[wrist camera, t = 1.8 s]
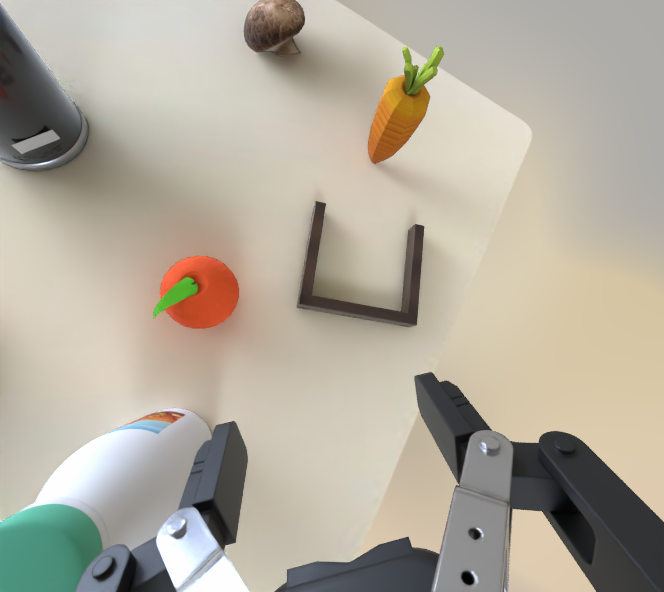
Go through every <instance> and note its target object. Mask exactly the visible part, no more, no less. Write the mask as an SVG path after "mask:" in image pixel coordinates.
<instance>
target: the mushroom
mask: <svg viewBox="0 0 664 592" xmlns="http://www.w3.org/2000/svg"><path fill="white" fill-rule="evenodd" d="M304 23H305V16H304V11H303V9H302V7H301V6H300V4H299V3H298V2H297V1H295V0H260V1H259V2H258V3H256V4H255V5H254V6H253V7H252V8H251V10H250V11H249V13H248V14H247V17H246V20H245V26H244V37H245V41H246V43H247V45H248V46H249V47H250V48H251V49H252V50H253V51H255V52H262V51H273V52H275V54H276V55H278V56H285V55H294V54H299V53H301V52H300V51H299V49H298V48H297V46H296V45H295V43H294V40H293V36H295V35H297V34H298V33H299V32H300V30H301V29H302V27H303V26H304Z"/></svg>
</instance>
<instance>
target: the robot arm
mask: <svg viewBox="0 0 664 592" xmlns="http://www.w3.org/2000/svg"><path fill="white" fill-rule="evenodd" d="M87 136H88V126H87V122H86V120H85V117H84V116H83V114H82V113H81V111H80V110H79V108H78V107H77V106H76V104H75V103H74V102H73V101H72V100H71V99H70V98H69V97H68V95H67V94H66V92H65V91H64V90H63V88H62V87H61V86H60V84H59V83H58V81H57V80H56V79H55V77H54V76H53V74H52V73H51V72H50V70H49V69H48V68H47V66H46V65H45V64H44V62H43V61H42V60H41V58H40V57H39V55H38V54H37V53H36V51H35V50H34V49H33V47H32V46H31V45H30V43H29V42H28V41H27V39H26V38H25V36H24V35H23V34H22V32H21V31H20V30H19V28H18V27H17V26H16V24H15V23H14V22H13V20H12V19H11V17H10V16H9V15H8V13H7V12H6V11H5V9H4V8H3V7H2V5H1V4H0V161H2V162H4V163H5V164H7V165H10V166H12V167H15V168H18V169H23V170H31V171H39V170H48V169H52V168H56V167H59V166H61V165H63V164H65V163H67V162H69V161H70V160H72V159H73V158H74V157H76V156H77V155H78V154H79V152H80V151H81V150H82V149H83V147H84V145H85V143H86V140H87ZM415 387H416V394H417V402H418V407H419V410H420V413H421V416H422V418H423V419H424V422H425V423H426V425H427V427H428V429H429V431H430V433H431V434H432V436H433V438H434V440H435V442H436V444H437V446H438V447H439V449H440V451H441V453H442V455H443V457H444V458H445V460H446V462H447V464H448V466H449V467H450V469H451V471H452V473H453V475H454V477H455V479H456V480H457V482H458V484H459V486H457V485H456V487H455V489H454V493H453V497H452V501H451V506H450V510H449V514H448V519H447V523H446V528H445V532H444V536H443V541H442V545H441V550H440V554H438V553H436V552H433V551H430V550H427V549H422V548H413V547H412V546H411V543H410V540H409V537H406V538H402V539H399V540H395V541H391V542H387V543H384V544H380V545H378V546H376V547H374V548H373V549H371V550H370V551H368V552H367V553H365V554H363V555H361V556H360V557H358V558H357V559H355V560H353V561H351V562H347V563H345V562H314V563H310V564H306V565H303V566H299V567H295V568H291V569H288V570H287V582H286V583H285V584H283V585H282V586H281V587H279V588H278V589H277V590H276V591H275V592H508V581H509V579H508V578H509V557H510V543H511V542H510V541H511V528H512V513H513V509H521V510H533V511H542V512H543V513H544V515H545V516H546V518H547V519H548V521H549V522H550V524H551V525H552V527H553V528H554V530H555V531H556V533H557V534H558V536H559V537H560V539H561V540H562V541H563V543H564V544H565V546H566V547H567V549H568V550H569V552H570V553H571V555H572V556H573V557H574V559H575V561H576V562H577V564H578V565H579V567H580V568H581V570H582V571H583V572H584V573H585V575H586V577H587V578H588V580H589V581H590V583H591V584H592V585H593V587H594V589H595V590H596V592H664V522H663V521H662V520H661V519H660V518H659V517H658V516H657V515H656V514H655V513H654V512H653V511H652V510H651V509H650V508H649V507H648V506H647V505H646V504H645V503H644V502H643V501H642V500H641V499H640V498H639V497H638V496H637V495H636V494H635V493H634V492H633V491H632V490H631V489H630V488H629V487H628V486H627V485H626V484H625V483H624V482H623V481H622V480H621V479H620V478H619V477H618V476H617V475H616V474H615V473H614V472H613V471H612V470H611V469H610V468H609V467H608V466H607V465H606V464H605V463H604V462H603V461H602V460H601V459H600V458H599V457H598V456H597V455H596V454H595V453H594V452H593V451H592V450H591V449H590V448H589V447H588V446H587V445H586V444H585V443H584V442H583V441H581V440H580V439H579V438H577V437H575V436H573V435H571V434H568V433H564V432H558V431H551V432H547V433H545V434H543V435H542V436H541V437H540V439H539V443H519V442H512V441H509V440H508V439H507V438H506V437H505V436H504V435H502V434H500V433H498V432H495V431H492V430H491V429H490V427H489V426H488V425H487V424H486V422H485V421H484V420H483V419H482V417H481V416H480V415H479V413H478V412H477V411H476V410H475V408H474V407H473V406H472V405H471V404H470V403H469V401H468V400H467V398H466V397H464V394H463V393H462V392H461V391H460V390H459V388H458V387H457V386H455V385H454V384H452V383H450V382H449V381H443V382H439V381H438V380H437V378H436V377H435V375H434V374H433V373H432V372H428V373H425V374H421V375H417V376H415ZM247 462H248V455H247V449H246V446H245V444H244V441H243V439H242V436H241V434H240V431H239V429H238V427H237V424H236V422H235V421H232V422H228V423H224V424H220V425H216V427H215V429H214V432H213V435H212V439H211V440H207V441H205V442H204V443H203V445H202V446H201V447H200V449H199V450H198V451H197V453H196V456H195V459H194V462H193V466H192V468H191V471H190V475H189V477H188V480H187V483H186V486H185V489H184V492H183V495H182V498H181V501H180V504H179V507H178V510H177V511H176V512H175V513H173V514H172V515H171V516H169V517H168V518H167V519H166V521H165V522H164V523H163V524H162V526H161V527H160V529H159V531H158V534H157V536H155V537H154V538H152V539H151V540H149V541H147V542H145V543H144V544H142V545H140V546H138V547H136V548H135V549H133V550H131V551H130V550H129V548H128V547H127V546H126V545H124V544H117V545H114V546H111V547H109V548H107V549H106V550H104V551H103V552H101V553H100V554H99V555H98V556H97V557H96V558H94V560H93V561H92V562H91V563H90V564H89V565H88V567H87V568H86V569H85V571H84V573H83V574H82V576H81V578H80V581H79V583H78V585H77V587H76V589H75V591H74V592H249V591H248V589H247V588H246V586H245V584H244V583H243V581H242V580H241V578H240V576H239V575H238V573H237V572H236V570H235V568H234V567H233V565H232V564H231V562H230V560H229V559H228V557H227V556H226V554H225V552H224V548H225V545H229V544H232V543H236V536H237V530H238V523H239V516H240V509H241V503H242V496H243V489H244V483H245V476H246V469H247Z"/></svg>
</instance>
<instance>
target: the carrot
mask: <svg viewBox="0 0 664 592" xmlns="http://www.w3.org/2000/svg"><path fill="white" fill-rule="evenodd" d="M402 52H403V56H404V59H405V67H404V73H405V75H402V76H399V77H396V78H392V79H390V80H389V81H388V83H387V85H386V87H385V90H384V92H383V95H382V98H381V100H380V103H379V106H378V109H377V111H376V114H375V117H374V120H373V123H372V126H371V131H370V136H369V142H368V151H369V156H370V159H371V161H372V162H373V163H375V164H376V163H378V162H381V161H383V160H386V159H388V158H389V157H391V156H393V155H394V154H395V153H396V152H397V151H398V150H399V149H400V148H401V147H402V146H403V145H404V144H405V143H406V142H407V141H408V140H409V138H410V137H411V136H412V134H413V133H414V131H415V130H416V128H417V127H418V126H419V124H420V123H421V121H422V120H423V118H424V116H425V114H426V111H427V107H428V103H429V100H430V95H429V93H428V91H427V89H426V88H425V86H424V84H425V83H427V82H428V81H429V80H431V79H432V78H433V77H434V76H436V75H437V66H438V64H439V62H440V61H441V59H442V57H443V55H444V52H443V49H442V47H439V46H436V48H435V50H434V51H433V53H432V55H431V57H430V59H429V60H428V62H427V63H426V64H424V65H423V67H422V69H421V70H420V72H419V73H418V75H417V72H418V68H419V67H418V66H417V65H415V66H414V67H413V65H412V64H411V55H410V52H409V50H408V48H407V46H406V47H404V48H403V49H402ZM416 75H417V77H416Z"/></svg>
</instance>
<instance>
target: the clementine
mask: <svg viewBox="0 0 664 592" xmlns="http://www.w3.org/2000/svg"><path fill="white" fill-rule="evenodd" d="M160 295H161V300H160V302H159V303H158V304H157V306H156V308H155V310H154V314H153V318H154V317H155V316H156V315H157V314H158V313H159V312H161V311H163V310H164V309H165V310H166V311H167V313H168V314H169V315H170V316H171V317H172V318H173V319H174V320H175V321H176V322H178V323H180V324H182V325H183V326H187V327H191V328H208V327H212V326H216V325H218V324H220V323H221V322H223V321H224V320H226V319H227V318H228V317H229V316H230V315H231V314H232V312H233V311H234V309H235V307H236V304H237V301H238V298H239V287H238V283H237V279H236V278H235V276H234V274H233V272H232V271H231V270H230V269H229V268H228V267H227V266H226V265H225V264H224V263H222V262H220V261H219V260H217V259H214V258H211V257H208V256H194V257H188V258H186V259H183V260H181V261H179V262H177V263H176V264H175V265H174V266H172V267H171V268H170V269H169V271H168V272H167V273H166V274H165V276H164V279H163V281H162V283H161V290H160Z"/></svg>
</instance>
